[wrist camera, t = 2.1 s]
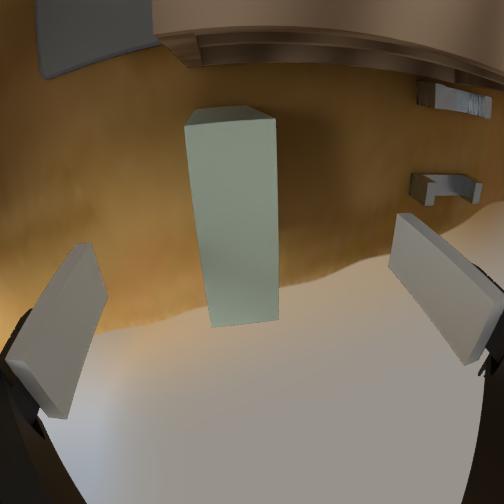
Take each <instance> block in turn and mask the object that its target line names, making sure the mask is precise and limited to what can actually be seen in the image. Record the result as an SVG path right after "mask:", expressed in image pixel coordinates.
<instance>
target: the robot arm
mask: <svg viewBox="0 0 504 504" xmlns="http://www.w3.org/2000/svg"><path fill="white" fill-rule="evenodd" d="M388 267H389V268H390V269H391V271H392V272H393V273H394V274H395V275H396V277H397V278H398V279H399V280H400V281H401V283H402V284H403V285H404V286H405V288H406V289H407V290H408V291H409V293H410V294H411V295H412V296H413V297H414V299H415V300H416V301H417V302H418V304H419V305H420V306H421V308H422V309H423V310H424V311H425V313H426V314H427V315H428V317H429V318H430V319H431V321H432V322H433V323H434V325H435V326H436V327H437V329H438V330H439V331H440V333H441V334H442V336H443V337H444V338H445V340H446V341H447V342H448V344H449V345H450V347H451V348H452V349H453V351H454V352H455V353H456V355H457V356H458V358H459V359H460V361H461V362H462V364H463V365H468V364H470V363H472V362H475V361H477V360H479V358H480V356H481V354H482V353H483V351H484V349H485V348H486V349H487V350H488V351H489V355H488V357H487V359H486V360H485V362H484V364H483V365H482V367H481V369H480V371H479V373H478V376H480V375H481V374H482V372H483V371H484V370H485V375H484V377H485V383H484V395H483V403H482V411H481V418H480V425H479V432H478V437H477V443H476V448H475V453H474V457H473V462H472V466H471V470H470V474H469V478H468V483H467V486H466V490H465V493H464V496H463V500H462V503H461V504H504V290H503V289H502V288H501V287H500V286H499V285H498V284H496V282H493V280H492V279H491V278H490V277H489V276H487V274H486V273H485V272H484V271H483V270H482V269H480V268H479V267H478V266H476V265H474V264H473V263H471V262H470V261H469V260H467V259H466V258H465V257H464V256H463V255H462V254H461V253H459V252H458V251H457V250H456V249H455V248H453V246H451V245H450V244H449V243H448V242H447V241H445V240H444V239H443V238H442V237H441V236H439V235H438V234H437V233H436V232H435V231H433V230H432V229H431V228H430V227H428V226H427V225H426V224H425V223H423V222H422V221H421V220H420V219H418V218H417V217H416V216H415V215H413V214H412V213H397V217H396V224H395V231H394V237H393V243H392V249H391V254H390V260H389V265H388ZM107 298H108V294H107V291H106V288H105V285H104V282H103V279H102V276H101V273H100V270H99V267H98V263H97V260H96V257H95V254H94V250H93V247H92V244H91V242H89V243H82V244H76V245H75V246H74V247H73V249H72V250H71V252H70V253H69V254H68V256H67V257H66V259H65V260H64V262H63V263H62V264H61V266H60V267H59V269H58V270H57V272H56V273H55V275H54V276H53V278H52V279H51V281H50V282H49V284H48V285H47V287H46V288H45V290H44V292H43V293H42V295H41V296H40V298H39V300H38V301H37V303H36V304H35V306H34V308H33V309H29V310H28V311H27V312H26V313H25V314H24V315H23V316H22V317H21V318H20V320H19V322H18V323H17V325H16V327H15V330H13V332H12V334H11V335H10V336H11V338H9V339H8V341H7V343H6V344H5V346H4V348H3V350H2V352H1V354H0V504H87V503H86V502H85V500H84V498H83V497H82V495H81V494H80V492H79V491H78V489H77V487H76V486H75V484H74V482H73V481H72V479H71V477H70V476H69V474H68V472H67V470H66V469H65V467H64V465H63V463H62V461H61V460H60V458H59V456H58V454H57V452H56V450H55V448H54V446H53V444H52V442H51V440H50V438H49V436H48V434H47V431H46V429H45V427H44V425H43V423H42V421H41V420H40V418H39V417H38V416H37V414H38V411H39V408H41V409H42V410H43V411H44V412H45V414H46V415H47V416H48V417H51V418H58V419H67V418H68V414H69V411H70V407H71V404H72V400H73V397H74V393H75V390H76V387H77V383H78V380H79V377H80V374H81V370H82V367H83V364H84V361H85V358H86V355H87V352H88V349H89V347H90V343H91V341H92V338H93V335H94V332H95V330H96V327H97V324H98V322H99V319H100V316H101V314H102V311H103V308H104V306H105V303H106V301H107Z"/></svg>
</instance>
